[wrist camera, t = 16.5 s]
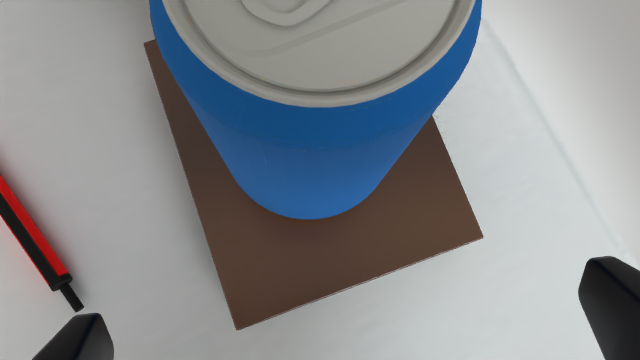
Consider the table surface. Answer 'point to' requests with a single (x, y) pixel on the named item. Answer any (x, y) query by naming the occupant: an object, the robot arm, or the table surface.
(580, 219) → the table surface
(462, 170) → the table surface
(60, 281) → the pen
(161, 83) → the shelf
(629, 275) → the robot arm
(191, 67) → the beverage can
